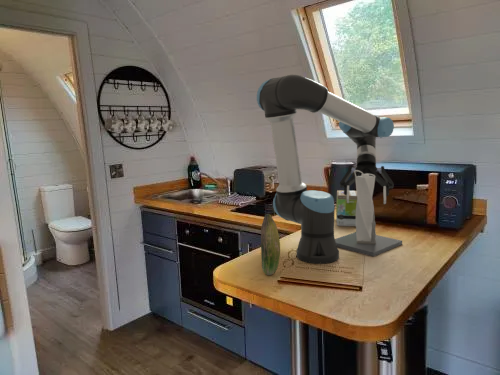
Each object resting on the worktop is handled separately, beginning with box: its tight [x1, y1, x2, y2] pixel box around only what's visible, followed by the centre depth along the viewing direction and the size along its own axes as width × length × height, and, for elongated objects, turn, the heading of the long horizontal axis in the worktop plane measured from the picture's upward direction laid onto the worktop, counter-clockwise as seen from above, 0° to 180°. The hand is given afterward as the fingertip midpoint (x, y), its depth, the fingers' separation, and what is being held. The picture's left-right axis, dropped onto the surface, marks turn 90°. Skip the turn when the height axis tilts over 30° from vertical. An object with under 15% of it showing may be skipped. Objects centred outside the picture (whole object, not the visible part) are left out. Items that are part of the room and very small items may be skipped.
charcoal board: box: [335, 231, 403, 257], centre depth 152 cm, size 20×20×2 cm
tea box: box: [335, 190, 357, 227], centre depth 185 cm, size 15×10×15 cm, turn 168°
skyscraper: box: [353, 170, 377, 244], centre depth 149 cm, size 8×8×28 cm
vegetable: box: [260, 213, 281, 276], centre depth 122 cm, size 6×6×20 cm
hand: (366, 201), depth 147 cm, fingers open, 13 cm apart
